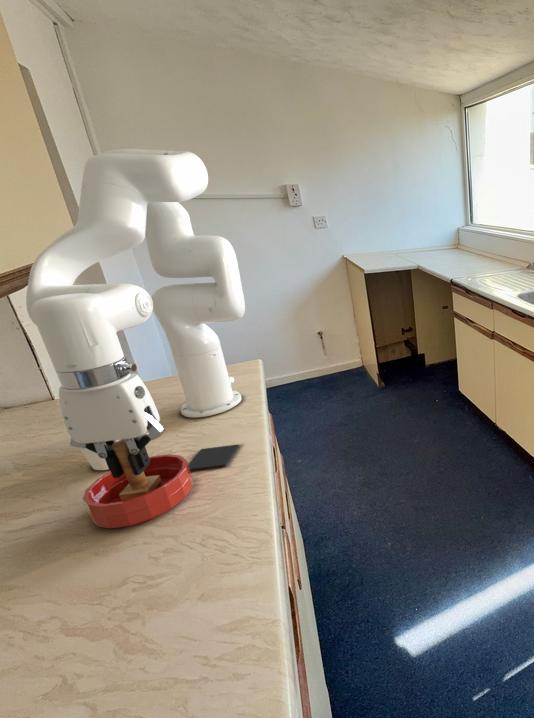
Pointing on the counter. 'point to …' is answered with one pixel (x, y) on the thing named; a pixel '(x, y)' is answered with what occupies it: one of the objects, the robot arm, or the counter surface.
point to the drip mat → (213, 457)
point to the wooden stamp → (136, 482)
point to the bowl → (118, 513)
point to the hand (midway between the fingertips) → (132, 470)
